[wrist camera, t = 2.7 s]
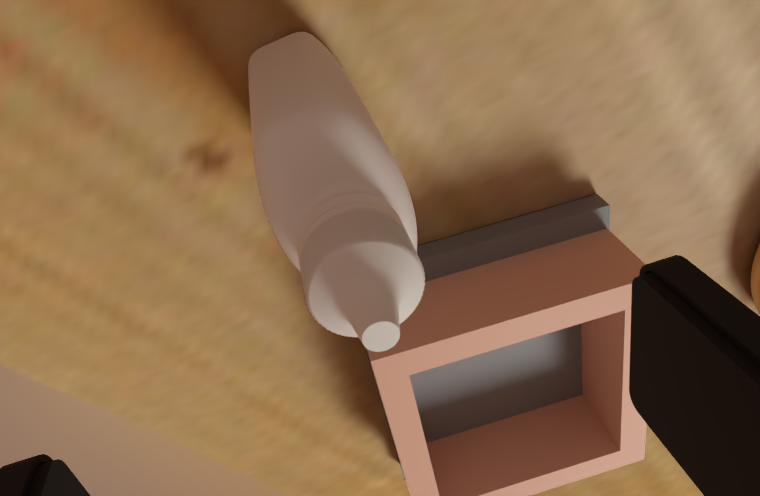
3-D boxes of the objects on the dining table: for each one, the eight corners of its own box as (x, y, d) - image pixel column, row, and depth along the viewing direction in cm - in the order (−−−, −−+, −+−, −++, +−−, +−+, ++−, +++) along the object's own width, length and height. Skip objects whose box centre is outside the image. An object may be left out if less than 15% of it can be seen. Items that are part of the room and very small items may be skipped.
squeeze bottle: (243, 185, 21) (249, 454, 11) (248, 21, 19) (262, 186, 9) (362, 190, 22) (463, 440, 12) (384, 36, 20) (536, 198, 10)
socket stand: (341, 267, 24) (361, 339, 20) (597, 194, 25) (661, 250, 21) (400, 464, 31) (422, 544, 27) (596, 403, 32) (645, 472, 28)
